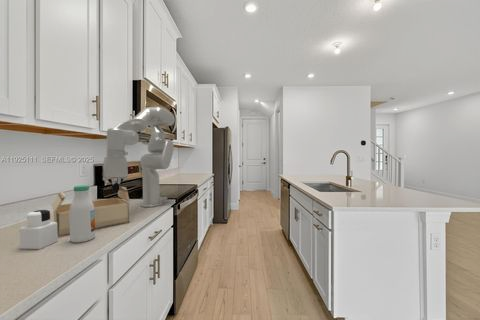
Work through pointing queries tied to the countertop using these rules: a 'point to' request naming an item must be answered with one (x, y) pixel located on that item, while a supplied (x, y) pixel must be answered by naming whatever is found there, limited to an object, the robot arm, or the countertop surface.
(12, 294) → the countertop surface
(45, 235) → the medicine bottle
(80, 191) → the milk bottle
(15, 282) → the countertop surface
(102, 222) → the carton
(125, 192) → the flap
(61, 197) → the flap
